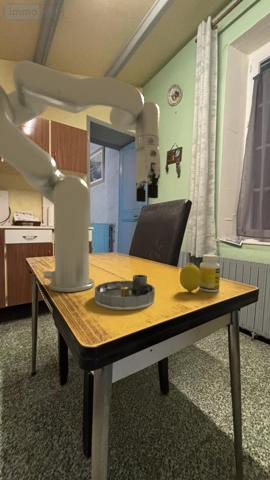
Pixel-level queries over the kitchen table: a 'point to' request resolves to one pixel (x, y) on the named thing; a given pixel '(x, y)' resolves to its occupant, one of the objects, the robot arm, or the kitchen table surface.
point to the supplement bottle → (210, 274)
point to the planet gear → (139, 285)
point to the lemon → (190, 277)
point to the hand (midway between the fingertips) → (146, 199)
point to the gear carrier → (122, 296)
